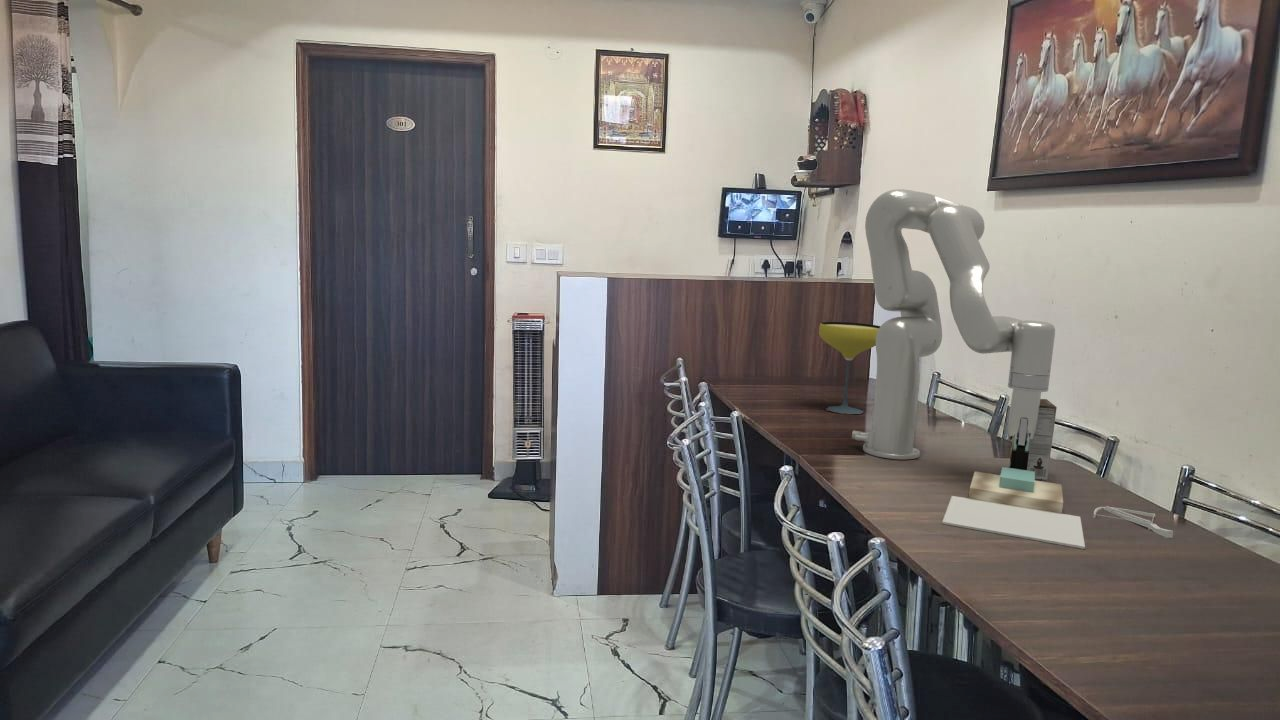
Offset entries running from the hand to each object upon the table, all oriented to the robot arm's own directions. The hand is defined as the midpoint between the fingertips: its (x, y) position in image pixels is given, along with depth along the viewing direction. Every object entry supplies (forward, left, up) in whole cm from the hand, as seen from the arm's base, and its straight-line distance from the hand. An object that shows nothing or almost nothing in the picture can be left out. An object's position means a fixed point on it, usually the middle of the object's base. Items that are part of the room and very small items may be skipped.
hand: (1018, 469), depth 175 cm
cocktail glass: (-47, +56, -3) cm, 73 cm away
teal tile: (0, -10, -1) cm, 10 cm away
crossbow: (+20, -15, -4) cm, 25 cm away
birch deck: (0, -12, -3) cm, 12 cm away
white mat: (0, -28, -3) cm, 28 cm away
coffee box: (+2, +11, -3) cm, 12 cm away
